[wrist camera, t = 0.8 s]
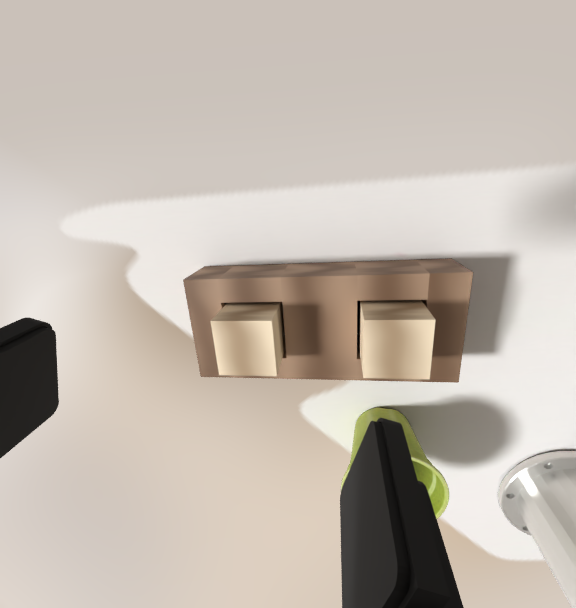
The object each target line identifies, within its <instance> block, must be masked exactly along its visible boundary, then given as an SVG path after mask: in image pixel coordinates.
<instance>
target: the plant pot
mask: <svg viewBox="0 0 576 608" xmlns="http://www.w3.org/2000/svg"><path fill="white" fill-rule="evenodd" d="M379 418H385V419H388V420H392V421H395V422H399V423H401V424H402V427H403V430H404V434H405V437H406V441H407V444H408V448H409V451H410V455H411V458H412V462H413V465H414V469H415V473H416V476H417V480H418V481H421V482H423V483H424V484H425V486H426V488H427V490H428V493H429V496H430V500H431V503H432V506H433V509H434V513H435V516H436V519H438V518H439V517H440V516H441V515H442V513H443V512H444V511H445V509H446V507H447V505H448V501H449V489H448V486H447V483H446V481H445V479H444V477H443V476H442V474H441V473H440V472H439V471H438V470H437V469H436V468H435V467H434V466H433V465H432V464H431V462H430V461H429V460H428V459H427V458H426V456H425V454H424V452H423V450H422V448H421V446H420V444H419V442H418V440H417V438H416V436H415V434H414V432H413V430H412V428H411V426H410V424H409V422H408V420H407V419H406V417H405V416H404V415H403V414H401V413H400V412H398V411H396V410H394V409H384V408H379V407H378V408H373V409H370V410H367V411H366V412H364V413H363V414H362V415H361V416H360V417H359V418H358V420H357V422H356V425H355V431H354V440H353V448H352V455H351V461H350V464H349V466H348V469H347V472H346V473H345V475H344V477H343V479H342V484H341V490H342V487H343V484H344V482H345V479H346V477H347V475H348V472H349V470H350V468H351V465H352V463H353V461H354V458H355V456H356V454H357V451H358V449H359V447H360V444H361V442H362V440H363V437H364V435H365V433H366V430H367V428H368V426H369V424H370V422H371V421H376V422H377V420H378V419H379Z"/></svg>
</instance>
